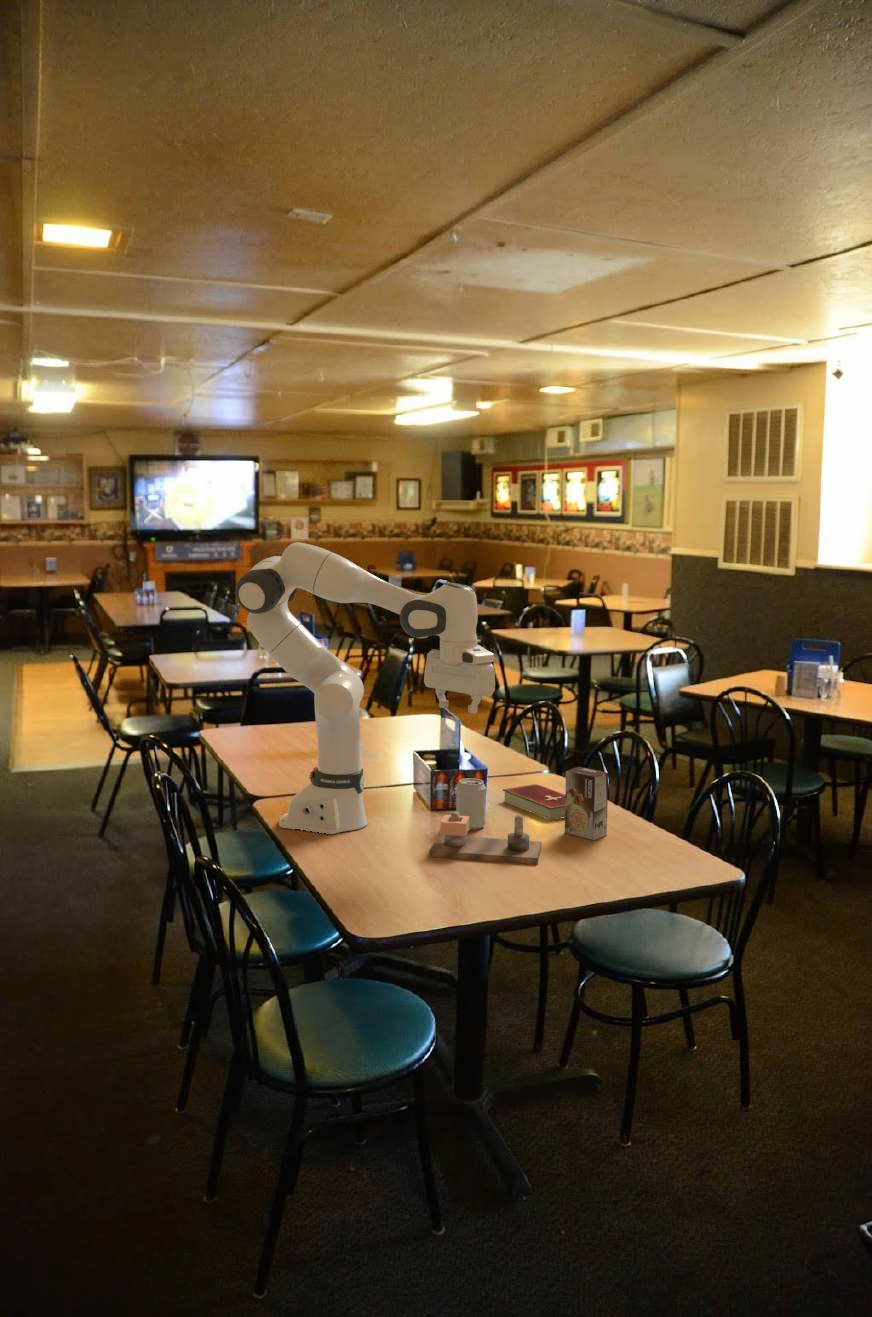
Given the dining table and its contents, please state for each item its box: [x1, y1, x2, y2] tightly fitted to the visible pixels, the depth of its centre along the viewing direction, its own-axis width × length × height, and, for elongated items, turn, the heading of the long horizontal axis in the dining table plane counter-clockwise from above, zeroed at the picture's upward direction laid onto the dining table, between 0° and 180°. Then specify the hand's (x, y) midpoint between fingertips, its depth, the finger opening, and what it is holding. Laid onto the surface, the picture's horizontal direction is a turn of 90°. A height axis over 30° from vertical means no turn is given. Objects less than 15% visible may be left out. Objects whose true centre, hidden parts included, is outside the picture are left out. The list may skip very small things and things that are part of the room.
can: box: [455, 777, 487, 831], centre depth 255 cm, size 8×8×12 cm
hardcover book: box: [502, 783, 565, 821], centre depth 273 cm, size 12×21×4 cm, turn 32°
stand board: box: [428, 811, 542, 865], centre depth 236 cm, size 25×12×10 cm, turn 80°
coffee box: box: [564, 766, 609, 841], centre depth 250 cm, size 9×6×16 cm
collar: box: [439, 814, 470, 837], centre depth 237 cm, size 6×6×3 cm
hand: (458, 710), depth 239 cm, fingers open, 8 cm apart
